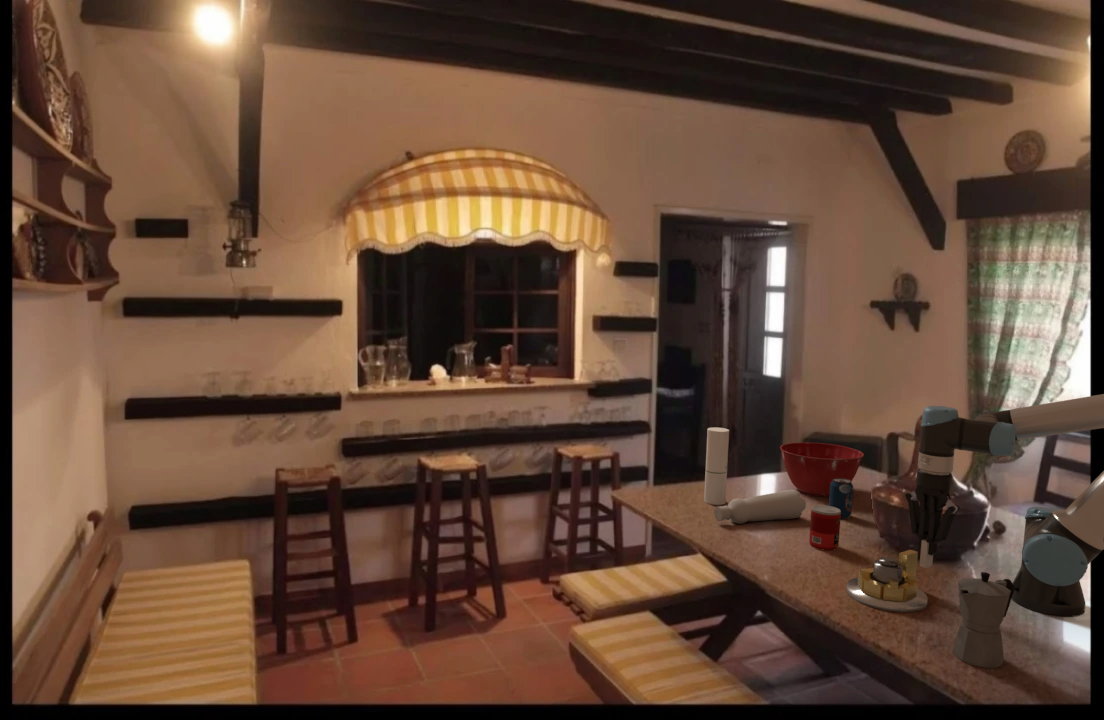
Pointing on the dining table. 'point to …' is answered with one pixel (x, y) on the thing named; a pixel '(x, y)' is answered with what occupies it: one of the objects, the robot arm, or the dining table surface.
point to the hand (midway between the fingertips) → (925, 566)
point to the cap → (881, 573)
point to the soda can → (841, 496)
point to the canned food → (825, 527)
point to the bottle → (763, 507)
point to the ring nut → (892, 580)
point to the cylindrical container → (716, 466)
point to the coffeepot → (982, 620)
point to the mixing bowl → (819, 465)
